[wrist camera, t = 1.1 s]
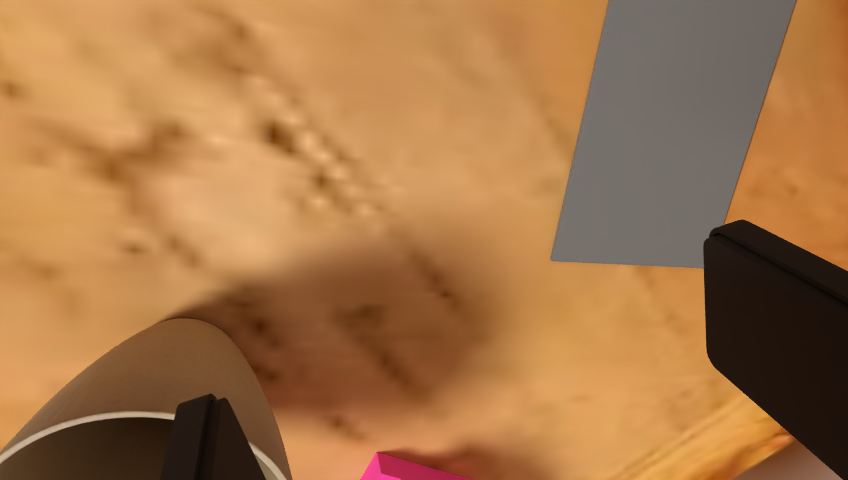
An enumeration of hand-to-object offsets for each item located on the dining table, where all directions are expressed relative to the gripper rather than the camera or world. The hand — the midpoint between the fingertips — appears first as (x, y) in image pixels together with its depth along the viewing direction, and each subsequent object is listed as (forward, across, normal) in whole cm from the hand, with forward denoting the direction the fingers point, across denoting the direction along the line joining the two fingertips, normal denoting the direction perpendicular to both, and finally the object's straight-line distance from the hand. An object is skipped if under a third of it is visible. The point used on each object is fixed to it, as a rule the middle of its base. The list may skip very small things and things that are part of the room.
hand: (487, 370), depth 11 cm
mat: (+30, -22, +8) cm, 38 cm away
